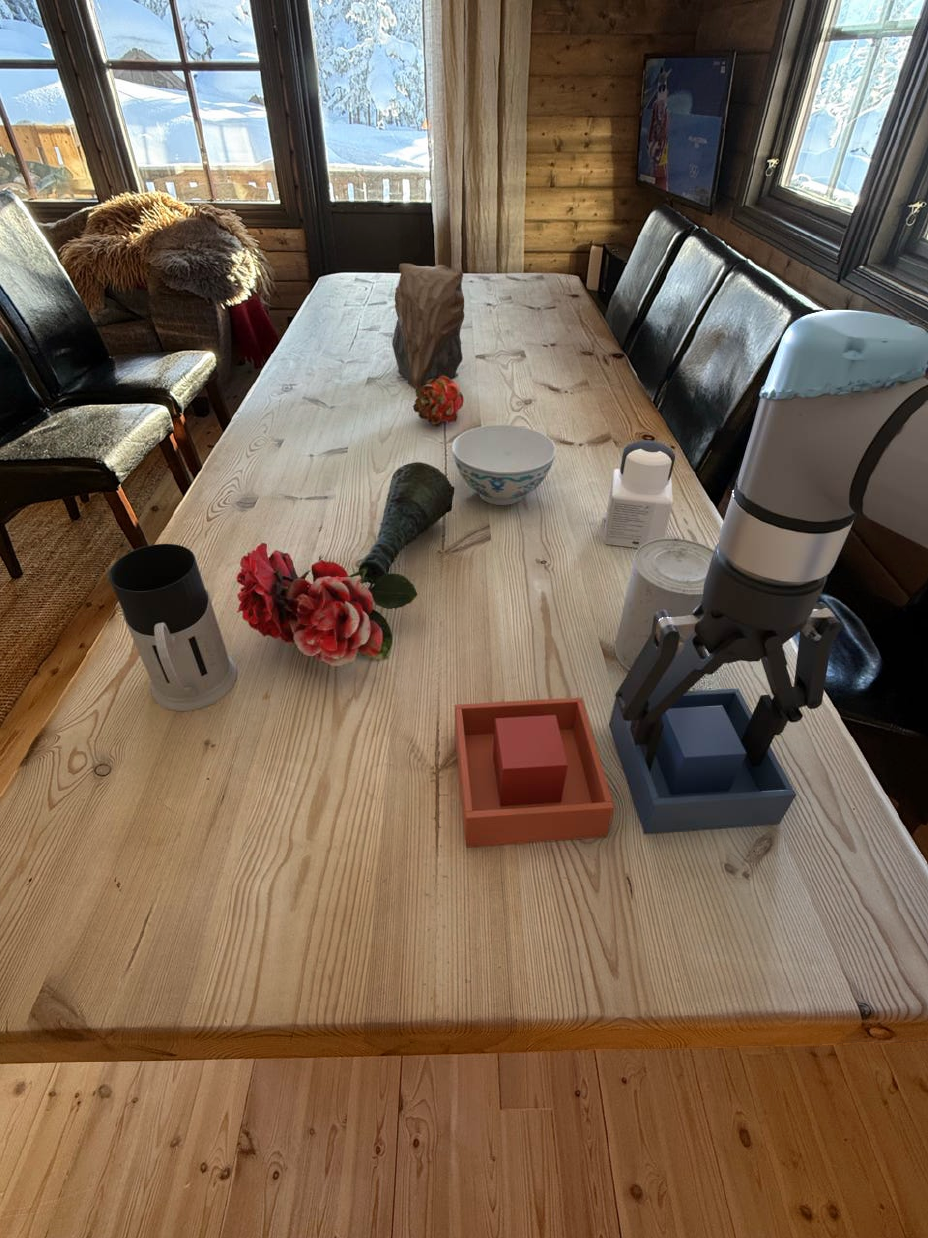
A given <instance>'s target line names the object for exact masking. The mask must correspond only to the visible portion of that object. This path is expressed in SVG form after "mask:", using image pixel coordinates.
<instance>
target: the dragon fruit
mask: <svg viewBox="0 0 928 1238" xmlns="http://www.w3.org/2000/svg"><path fill="white" fill-rule="evenodd" d="M414 389H415V388H414ZM414 392H415V397H416V398H415V400H414V404H413V406H412V408H413V412H414V413H418V417H419V418H420V419H422V420H427V421H428V423H429V424H431V425H433V426H435V427H439V426H440V425H442V424H443V422H447V423H451V422H452V423H455V422H457V420H458V412H459V410H461V409H462V408H463V405H464V401H465V399H464V395H463V394H462V392H461V389H460V387H459V385H458V384H457V383H456V382H455V380H453V379H449V378H448V377H446V376H440V377H439V378H438V380H437V379H435V378H433V379H431V380H429V381H427V382H426V384H425V386H420V387H417V388H416V389H415V390H414Z"/></svg>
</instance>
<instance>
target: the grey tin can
mask: <svg viewBox="0 0 928 1238" xmlns="http://www.w3.org/2000/svg"><path fill="white" fill-rule="evenodd" d="M713 552H714V549H713V548H711V547H710V546H707V545H706V544H703V543H700V542H697V541H694V540H690V539H685V538H676V537H664V538H662V539H655V540H652V541H649V542H647V543H645V544H643V545H641V546H640V547H639V548H636V550H635V552H634V554H633V557H632V559H633V560H632V561H633V562H632V567H631V572H630V576H629V580H628V585H627V589H626V590H627V591H626V593H625V594H626V595H625V598H624V602H623V608H622V612H621V616H620V620H619V626H618V630H617V634H616V639H615V641H614V647H613V649H614V653H615V656H616V658H617V660H618V662H619V663H620V665H621V666H623V668H625V669H626V670H627V671H628V672H629V670H630V669H631V667H632V665H633V664H634V662H635V660H636V659H637V657H638V655H639V653H640V652H641V650H642V648H643V647H644V645H645V643H646V642H647V640H648V638H649V637H650V635H651V632H652V625H653V618H654V615H655V614H656V613H657V612H659V611H662V610H665V611H668V613H669V614H670V616H671V617H680V616H689V615H691V613H692V612H693V610H694V609H695V608H696V607H697V606H698V605H699V604H700V602H701V600H702V596H703V588H704V582H705V578H706V575H707V572H708V569H709V565H710V562H711V559H712V556H713ZM691 634H692V633H691ZM691 634H689V635H688V636H687V637H686V638H685V640H684V641H683V643H684V644H685V641H686V639H687V638H688V637H689V636H690V635H691ZM683 648H684V647H683ZM683 648H680V649H679V648H678V649H677V653H676V655H675V657H676V656H677V655H678V654H679V653H680V652H681V650H682V649H683ZM704 649H705V650H706V648H705V647H704Z"/></svg>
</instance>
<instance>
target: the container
mask: <svg viewBox="0 0 928 1238" xmlns="http://www.w3.org/2000/svg"><path fill="white" fill-rule="evenodd" d="M675 461H676V453H675V451H674V450H673V449H672V448H671V447H670V446H669V445H667V444H664V443H662V442H659V441H656V440H650V439H643V440H635V441H631V442H629V443H628V444H627V445H626V446H625V447H623V452H622V457H621V462H620V468H615V469H614V470H613V474H612V479H611V485H610V490H609V495H608V496H609V497H608V502H607V508H606V512H605V525H604V537H603V542H604V544H605V545H611V546H617V547H625V548H633V549H635V548H636V549H638V548H639V547H640V546H641V545H643V544H645V543H647V542H649V541H652V540H655V539H662V538H666V533H667V529H668V525H669V521H670V516H671V513H672V509H673V505H674V501H673V499H674V498H673V482H672V474H673V468H674V465H675Z"/></svg>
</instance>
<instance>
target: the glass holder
mask: <svg viewBox="0 0 928 1238" xmlns="http://www.w3.org/2000/svg"><path fill="white" fill-rule="evenodd" d="M200 571H201V570H200V568H199V565H198V562H197V559H196V556H195V554H194V552H193V551H192V550H191V549H189V548H188V547H186V546H183V545H180V544H175V543H157V544H150V545H146V546H142V547H139V548H137V549H134V550H131V551H129V552H128V553H126V554H124V555H123V556H121V557H120V558H119V559H117V560H116V561H115V562H114V564H113V565H111V567H110V569H109V573H108V578H109V583H110V585H111V587H112V589H113V591H114V594H115V596H116V598H117V600H118V603H119V605H120V607H121V610H122V616H123V619H124V622H125V625H126V626H127V628H128V631H129V634H130V636H131V638H132V640H133V642H134V645H135V647H136V649H137V652H138V654H139V656H140V658H141V662H142V663H143V665H144V667H145V670H146V672H147V674H148V677H149V679H150V682H151V685H150V686H151V687H150V690H151V695H152V698H153V700H154V701H155V702H156V704H157V705H159V706H160V707H162V708H164V709H166V710H168V711H176V712H191V711H195V710H199V709H203V708H207V707H209V706H211V705H213V704H215V703H216V702H218V701H220V700H221V699H223V698H224V697H225V696H226V695H227V694H228V693H229V692H230V691H231V690H232V688H233V687H234V685H235V684H236V681H237V679H238V668H237V665H236V663H235V662H234V660H233V659H232V658H231V657H230V656H229V654H228V650H227V647H226V644H225V641H224V639H223V634H222V632H221V629H220V626H219V622H218V618H217V616H216V612H215V609H214V607H213V604H212V600H211V597H210V593H209V591H208V589H207V588H206V587H205V584H204V580H203V577H202V575H201V572H200Z"/></svg>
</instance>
